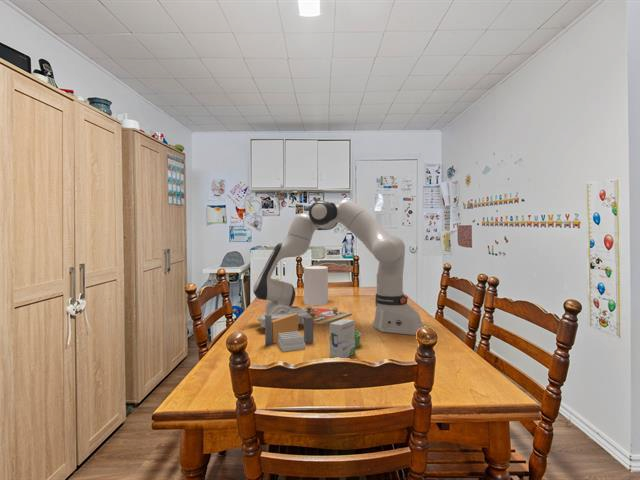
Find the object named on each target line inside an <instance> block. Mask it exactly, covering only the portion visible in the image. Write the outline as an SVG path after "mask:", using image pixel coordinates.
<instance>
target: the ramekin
mask: <svg viewBox="0 0 640 480" xmlns="http://www.w3.org/2000/svg"><path fill="white" fill-rule="evenodd" d="M361 336H362V333H361V332H360V331H358V330H355V349H356V348H358V347H359V346H360V344H361V343H360V342H361Z"/></svg>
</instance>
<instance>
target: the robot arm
mask: <svg viewBox="0 0 640 480" xmlns="http://www.w3.org/2000/svg"><path fill="white" fill-rule="evenodd" d="M338 223H340V224H342V226H343V227H345V228H346V230H348V231H349V232H351V234H353V235H354V236H355V237H356V238H357V239H358V240H359V241H361V243H362V244H363V245H364V246H365V248H366V249H367V250H368V251H369V252H370V253H371V254H372V256H373V257H375V259H376V261H377V262H378V268H377V273H376V293H375V315H374V319H373V322H372V323H373V324H372V327H373V328H375V329H377V330H378V331H379V332H380V333H388V334H389V333H390V334H391V333H392V334H399V335H401V334H402V335H411V336H413V335H414V336H417V335H416V332H417V330H418V329H419V328H421V327H424V326H426V327H427V325H426V324H425V323H422V319H421V315H420V313H419V312H418V311H416V310H415V309H414V308H413V307H411V306H410V304H408V299H409V296H408V295H407V296H406V295H404V291H403V289H404V287H403V285H404V268H405V267H404V266H405V253H406V245H405V243H404V241H403V240H402V239H401V238H400V237H399V236H395V235H391V234H390V233H389V232H388V231H387V230H386V229H385V228H384V227H383V226H382V225H381V224H380V223H379V221H378V220H376V219H375V218H374V217H373V216H372V215H370V214H369V213H368V212H367V211H366V210H365V209H364V208H363V207H361V206H360V205H359V204H357V203H356V202H353V200H350V199H347V198H345V199H343V200H340V201H339V202H338V203H337V204H335V203H334V202H329V201H325V200H318V201H315V202H313V203H312V204H311V205H310V207H309V209H308V214H307V213H297V214H296V215H295V217H294V218H293V220H292V221H291V224H290V226H289V230H288V232H287V235H286V237H285V239H284V240H283V241H282V242H281V243H278V244H276V246H275V247H274V248H273V250H272V252H271V254H270V256H269V257H268V260H267V261H266V263H265V265H264V268H263V269H262V272H261V273H260V275H259V276H258V278H257V279H256V281H255V282H254V285H253V290H252V291H253V294H254V295H255V298H257V300H263V301H268V302H267V303H266V304H265V308H264V309H265V310H264V311H265V314H261V315H260V316H259V317H257V321H258V322H260V323H259V324H260V327H261V328H265V315H267V314H270V315H272V320H276V319H279V318H282V317H285V316H288V315H291V314H294V313H296V314H298V325H300V324H304V319H303V316H309V314H308V313H307V312H306V311H304V310H301V308H302V307H300V306H293V305H294V302H295V299H296V289H295V287H294V285H293V284H292V283H289V282H286V281H284V280H283V281H281V280H278V279H275V278H274V279H273V278H272V275H273V273H274V272H275V269H276V268H277V265H278V263H279V262H280V261H281V260H282V259H287V258H296V257H300V256H303V255H305V254H306V253H307V251H309V248H310V245H311V242H312V238H313V235H314V233H315V232H316V231H329V230H332V229H334V228H335V227H336V226H337V224H338Z"/></svg>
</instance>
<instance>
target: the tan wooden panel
mask: <svg viewBox="0 0 640 480" xmlns="http://www.w3.org/2000/svg"><path fill="white" fill-rule="evenodd" d="M295 331H299V324H298V314H296V313H294V314H291V315H288V316H285V317H282V318H279V319H276V320H272V345H273V344H277V343H278V333H286V332H295Z"/></svg>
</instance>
